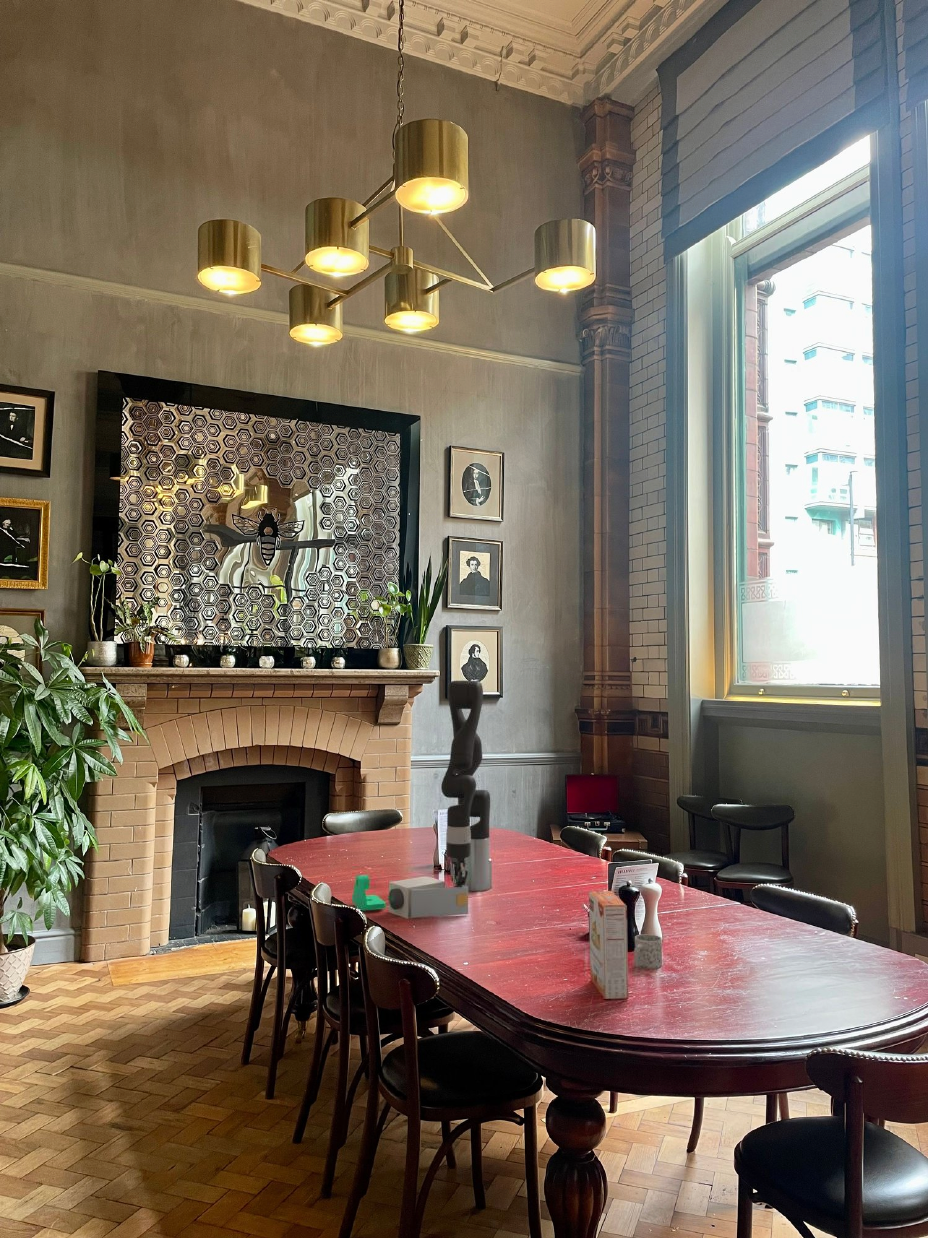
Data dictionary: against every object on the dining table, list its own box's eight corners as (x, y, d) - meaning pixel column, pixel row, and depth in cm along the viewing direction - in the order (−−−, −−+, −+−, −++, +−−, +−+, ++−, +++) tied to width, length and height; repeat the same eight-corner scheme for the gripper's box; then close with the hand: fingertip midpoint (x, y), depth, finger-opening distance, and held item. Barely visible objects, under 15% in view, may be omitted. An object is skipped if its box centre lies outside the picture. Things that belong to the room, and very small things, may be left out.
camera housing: (425, 905, 290) (425, 876, 291) (445, 911, 283) (445, 881, 283) (384, 913, 281) (385, 883, 281) (403, 919, 273) (403, 888, 273)
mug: (643, 959, 234) (642, 933, 235) (666, 964, 230) (666, 937, 231) (623, 969, 227) (623, 941, 227) (647, 974, 223) (647, 946, 223)
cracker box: (588, 980, 218) (587, 890, 219) (613, 979, 219) (612, 890, 220) (602, 1001, 204) (601, 905, 206) (629, 1000, 205) (628, 904, 206)
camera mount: (386, 912, 283) (386, 878, 283) (362, 914, 280) (362, 880, 281) (375, 903, 294) (375, 870, 294) (352, 905, 291) (352, 872, 292)
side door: (467, 913, 278) (467, 886, 279) (468, 914, 277) (468, 887, 277) (408, 917, 274) (409, 889, 274) (410, 918, 272) (410, 891, 273)
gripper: (476, 844, 276) (476, 902, 275) (464, 836, 289) (464, 892, 288) (452, 845, 274) (451, 904, 273) (441, 837, 287) (440, 893, 286)
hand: (458, 898), depth 281 cm, fingers closed
